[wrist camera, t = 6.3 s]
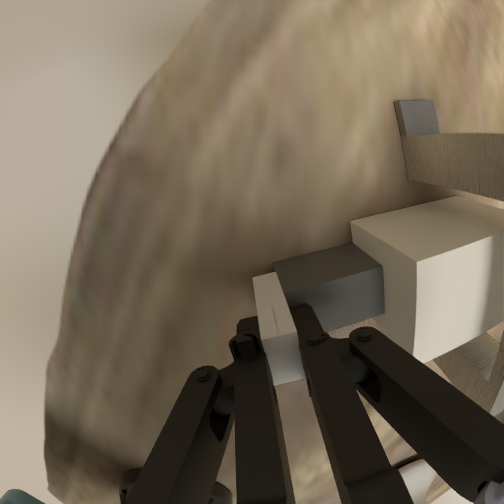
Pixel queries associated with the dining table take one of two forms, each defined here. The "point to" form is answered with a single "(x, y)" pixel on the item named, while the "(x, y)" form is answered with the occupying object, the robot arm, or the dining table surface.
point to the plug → (410, 275)
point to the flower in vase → (417, 479)
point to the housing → (473, 181)
